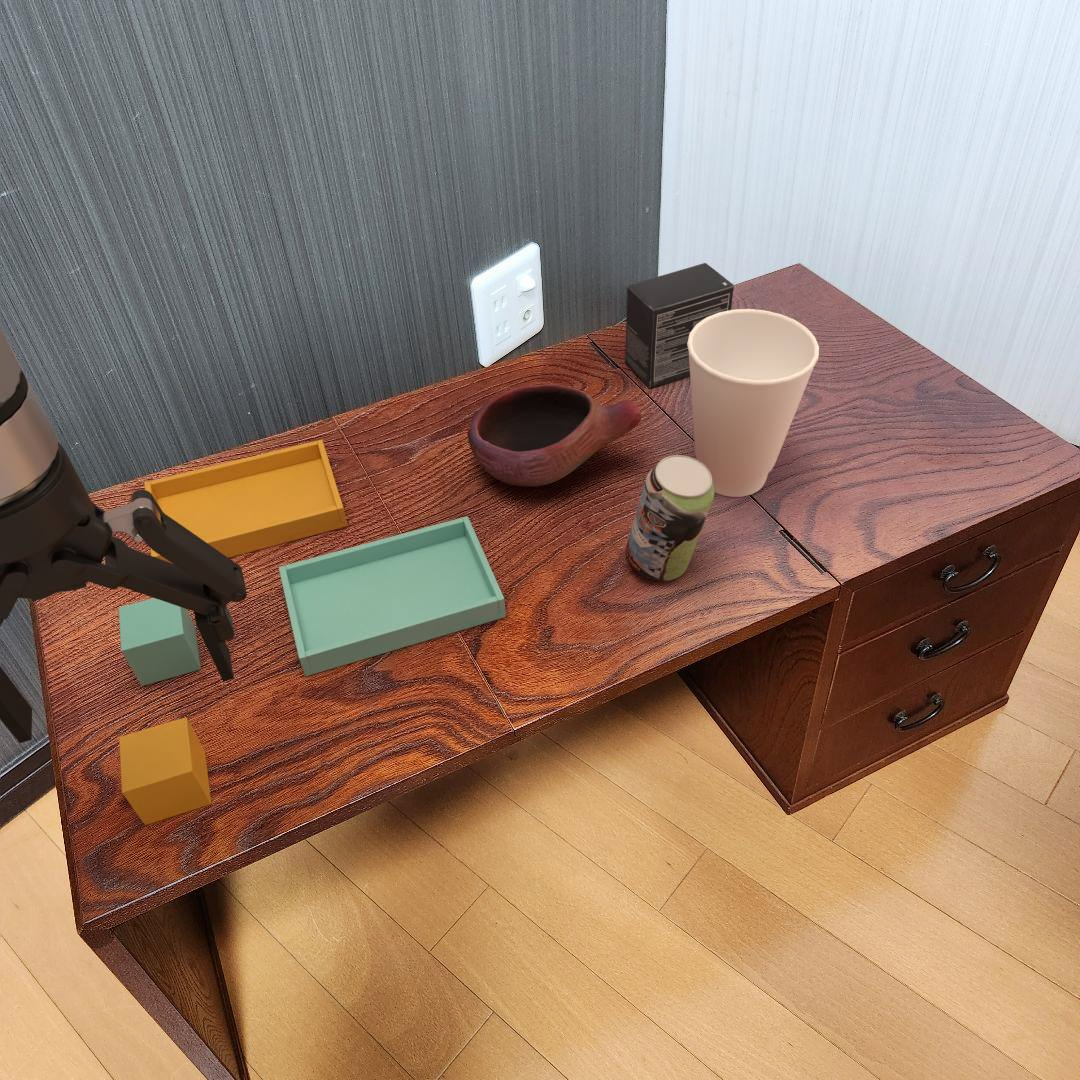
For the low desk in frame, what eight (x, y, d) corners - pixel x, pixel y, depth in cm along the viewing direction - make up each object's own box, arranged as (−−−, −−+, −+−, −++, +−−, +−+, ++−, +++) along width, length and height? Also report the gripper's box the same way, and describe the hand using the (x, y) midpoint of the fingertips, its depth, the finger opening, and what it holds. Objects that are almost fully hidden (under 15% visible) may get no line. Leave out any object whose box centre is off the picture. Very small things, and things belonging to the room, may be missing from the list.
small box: (697, 337, 114) (706, 259, 106) (727, 365, 109) (738, 285, 102) (621, 361, 111) (625, 282, 103) (649, 390, 106) (654, 310, 99)
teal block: (141, 686, 80) (121, 650, 76) (138, 643, 83) (118, 607, 79) (200, 669, 81) (183, 633, 77) (195, 627, 84) (178, 591, 80)
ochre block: (144, 825, 71) (121, 792, 67) (141, 770, 74) (118, 736, 70) (211, 804, 72) (192, 770, 68) (205, 751, 75) (186, 716, 71)
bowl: (506, 524, 92) (502, 463, 86) (454, 451, 100) (446, 391, 94) (644, 471, 97) (649, 410, 91) (584, 405, 105) (584, 345, 99)
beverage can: (627, 538, 90) (632, 442, 82) (703, 544, 89) (717, 448, 81) (622, 586, 86) (627, 491, 77) (702, 593, 85) (716, 498, 76)
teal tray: (305, 676, 80) (298, 658, 78) (284, 585, 87) (278, 566, 85) (506, 617, 84) (504, 598, 82) (470, 534, 91) (467, 515, 89)
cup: (810, 464, 97) (841, 332, 85) (758, 530, 90) (784, 398, 79) (709, 424, 102) (726, 295, 90) (652, 484, 95) (663, 353, 84)
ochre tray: (160, 576, 89) (151, 557, 87) (152, 500, 96) (144, 482, 94) (348, 526, 92) (343, 507, 91) (326, 457, 100) (322, 439, 98)
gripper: (216, 376, 55) (295, 606, 71) (-256, 485, 50) (-59, 708, 65) (232, 452, 50) (314, 681, 66) (-290, 582, 45) (-68, 799, 60)
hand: (128, 695), depth 65 cm, fingers open, 13 cm apart
